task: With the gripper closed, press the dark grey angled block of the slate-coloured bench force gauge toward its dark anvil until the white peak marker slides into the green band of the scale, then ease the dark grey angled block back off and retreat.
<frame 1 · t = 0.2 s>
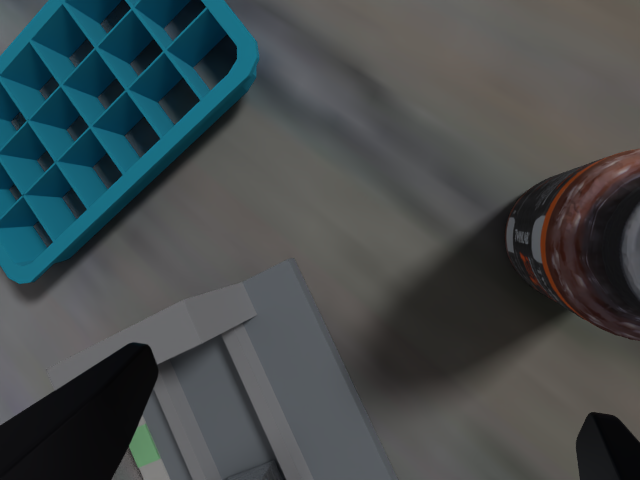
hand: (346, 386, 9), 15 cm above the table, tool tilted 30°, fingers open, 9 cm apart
ice cube tray: (115, 118, 28), on the table
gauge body: (242, 416, 26), on the table
supplement bottle: (566, 236, 21), on the table
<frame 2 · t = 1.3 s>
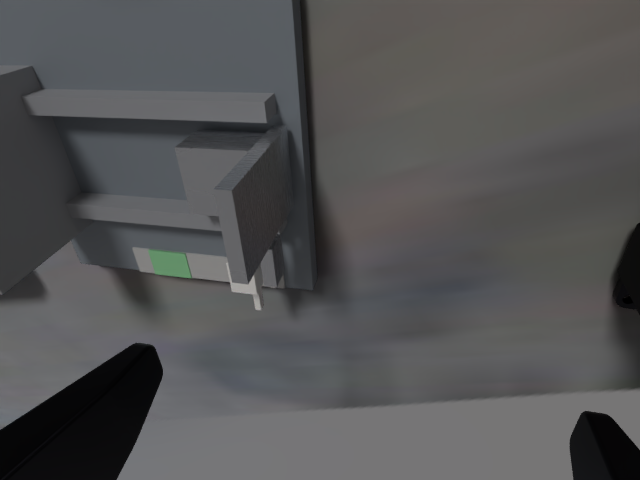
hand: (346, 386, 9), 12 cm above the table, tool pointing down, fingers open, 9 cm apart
stamp-shaped block: (255, 277, 21), point 3 cm above the table, slide at 0.0 cm
dark grey angled block: (225, 226, 18), point 4 cm above the table, slide at 0.0 cm
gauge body: (168, 148, 21), on the table
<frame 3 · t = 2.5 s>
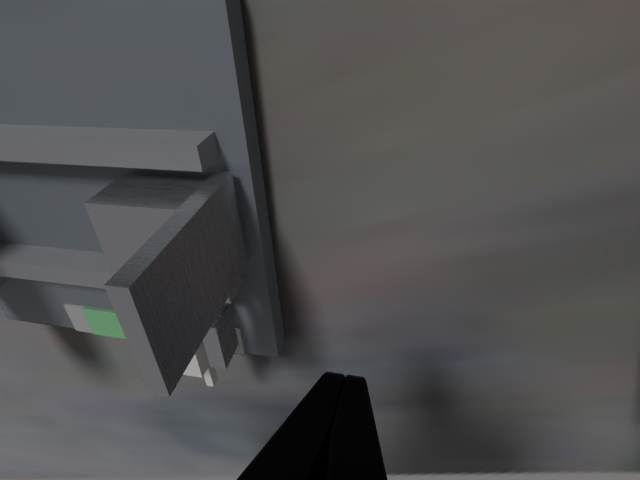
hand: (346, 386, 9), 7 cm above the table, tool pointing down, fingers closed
stamp-shaped block: (204, 349, 17), point 3 cm above the table, slide at 0.0 cm
dark grey angled block: (153, 301, 14), point 4 cm above the table, slide at 0.0 cm
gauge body: (97, 191, 17), on the table
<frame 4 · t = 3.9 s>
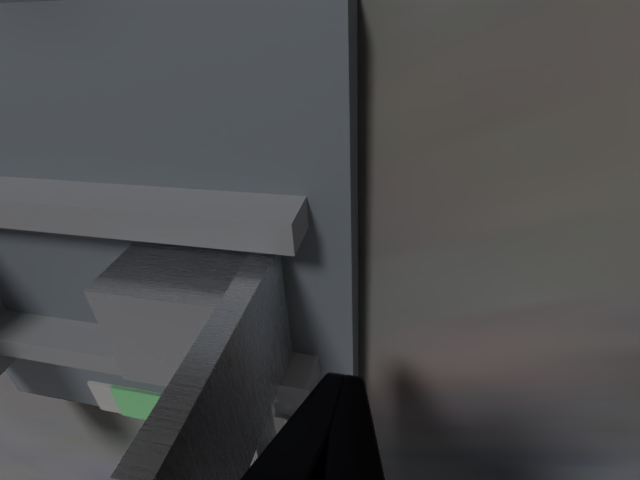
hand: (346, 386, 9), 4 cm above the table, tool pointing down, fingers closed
stamp-shaped block: (243, 452, 14), point 3 cm above the table, slide at 0.9 cm, touching dark grey angled block
dark grey angled block: (175, 418, 10), point 4 cm above the table, slide at 1.2 cm, touching gripper, stamp-shaped block
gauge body: (133, 254, 14), on the table
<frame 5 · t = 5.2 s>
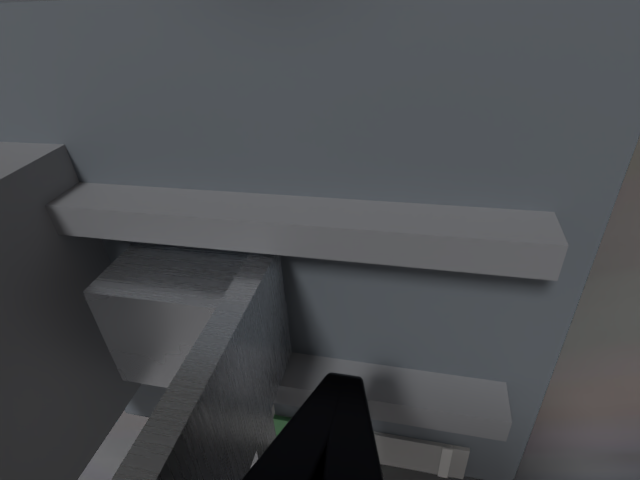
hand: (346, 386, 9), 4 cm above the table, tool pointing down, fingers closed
stamp-shaped block: (243, 452, 14), point 3 cm above the table, slide at 6.0 cm, touching dark grey angled block
dark grey angled block: (175, 419, 10), point 4 cm above the table, slide at 6.3 cm, touching gripper, stamp-shaped block
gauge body: (291, 271, 12), on the table
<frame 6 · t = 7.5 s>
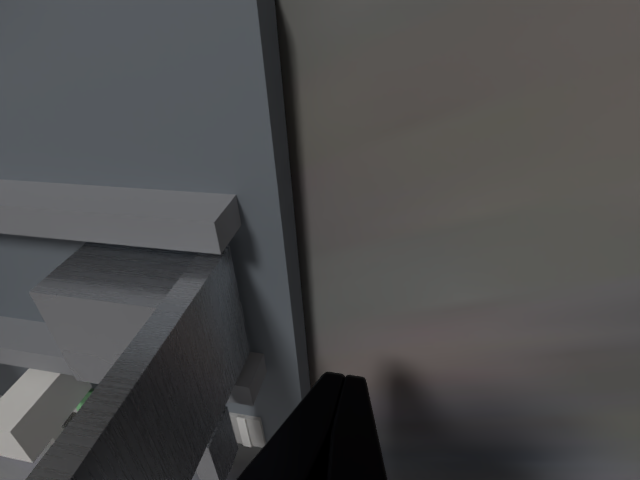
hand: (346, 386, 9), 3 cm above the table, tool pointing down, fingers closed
stamp-shaped block: (51, 422, 15), point 3 cm above the table, slide at 6.0 cm
dark grey angled block: (125, 419, 10), point 4 cm above the table, slide at 0.7 cm
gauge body: (81, 253, 14), on the table
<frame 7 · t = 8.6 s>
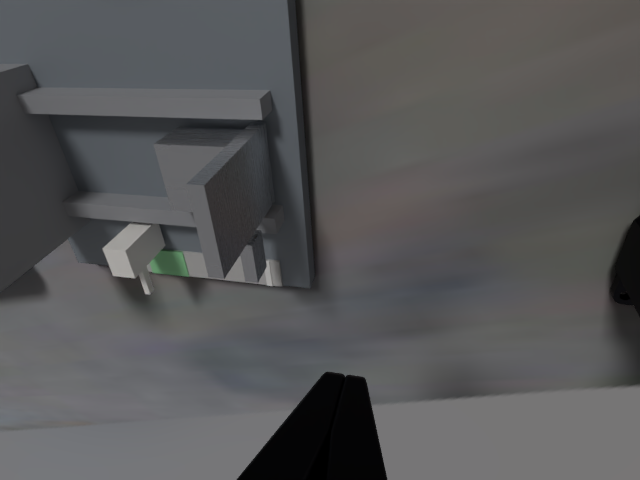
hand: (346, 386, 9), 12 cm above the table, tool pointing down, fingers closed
stamp-shaped block: (141, 263, 22), point 3 cm above the table, slide at 6.0 cm
dark grey angled block: (205, 222, 18), point 4 cm above the table, slide at 0.7 cm
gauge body: (165, 146, 21), on the table
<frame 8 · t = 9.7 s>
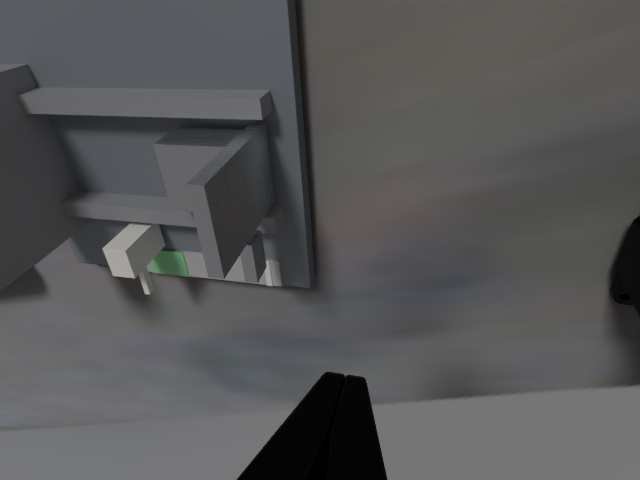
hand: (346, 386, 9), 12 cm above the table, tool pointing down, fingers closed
stamp-shaped block: (141, 263, 22), point 3 cm above the table, slide at 6.0 cm
dark grey angled block: (205, 222, 18), point 4 cm above the table, slide at 0.7 cm
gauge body: (165, 146, 21), on the table
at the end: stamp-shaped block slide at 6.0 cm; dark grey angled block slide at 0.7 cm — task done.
